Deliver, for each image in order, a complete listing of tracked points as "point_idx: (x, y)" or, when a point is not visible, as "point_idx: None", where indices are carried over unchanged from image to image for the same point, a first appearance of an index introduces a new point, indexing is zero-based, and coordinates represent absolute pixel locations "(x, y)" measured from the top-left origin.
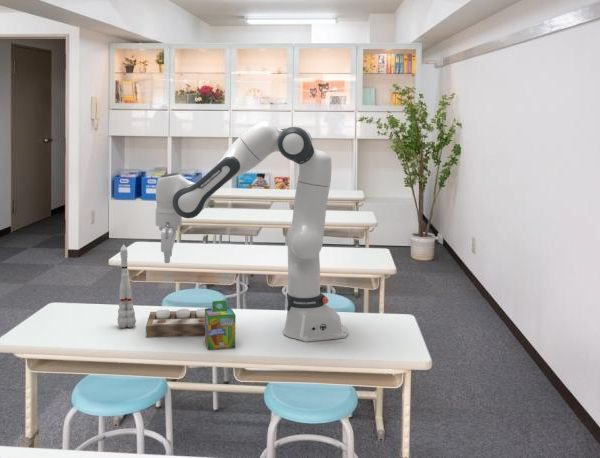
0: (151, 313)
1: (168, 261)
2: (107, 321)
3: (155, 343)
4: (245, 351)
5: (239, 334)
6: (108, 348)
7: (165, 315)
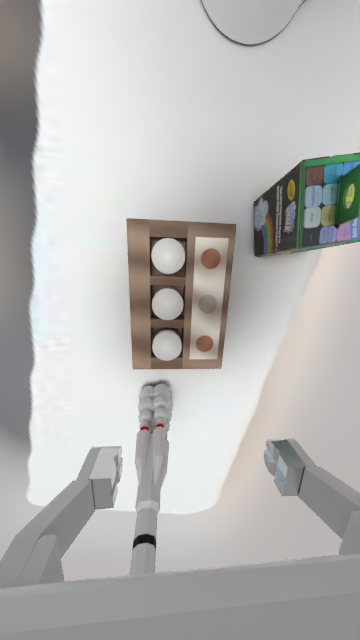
0: (144, 366)
1: (298, 450)
2: (127, 422)
3: (247, 341)
4: None
5: (230, 177)
6: (253, 402)
7: (180, 340)
